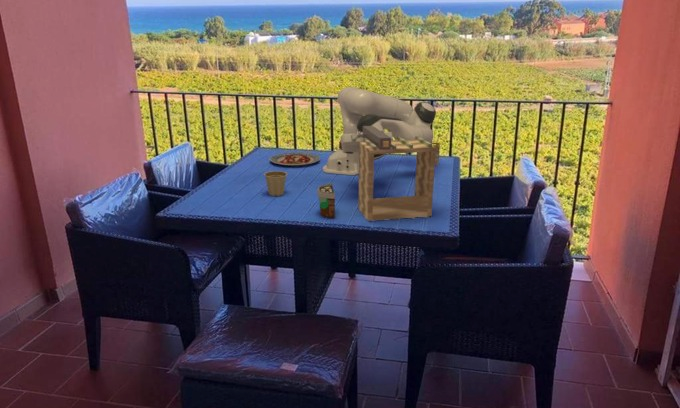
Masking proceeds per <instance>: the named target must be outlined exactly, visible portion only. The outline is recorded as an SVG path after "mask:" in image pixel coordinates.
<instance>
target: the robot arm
mask: <svg viewBox="0 0 680 408" xmlns="http://www.w3.org/2000/svg"><path fill="white" fill-rule="evenodd" d="M337 102H338V104H339V107H340V108H339V109H340V112H341V113H340V114H341V119H342V127H343V129H342V130H343V132H342V133H343V134H341V135H340V140H339V141H338V149H337V150H336V151H334V152H333V153H332V154H330V155H329V157H328V158H327V163H326V164H325V165H323V167H322V173H326V174H336V175H337V174H338V175H347V176H355V175H359V142H363V138H364V137H362V136H363V126H374V127H375V128H377V129H378V130H380V131H382V132H383V133H385V134H386V135H388V136H389V137H391V140H397V137H401V138H403V139H404V140H414V139H415V136H419V137H420V138H422V139H424V140H426V141H428V142H429V143H433V140H434V131H433V130H432V129H431V125H432V123H434V122H435V118H436V116H437V115H436V114H437V111H436V108H435V107H434V106H433V105H432V104H430V103H428V102H425V101H421V102H419V103H417V104H416V105H415V107H414V109H413V107H412V105H411V104H410V103H408V102H406V101H405V100H403V99H399V98H396V97H392V96H388V95H385V94H381V93H376V92H373V91H368V90H365V89H362V88H359V87H358V88H357V87H354V86H348V87H347V86H346V87H344V88H342V89H340V90H339V93H338V94H337ZM385 130H387V131H385ZM386 155H387V154H374V161H376V160H379V159H381V158H383V157H384V156H386Z"/></svg>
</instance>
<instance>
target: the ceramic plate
mask: <svg viewBox="0 0 680 408" xmlns="http://www.w3.org/2000/svg"><path fill="white" fill-rule="evenodd" d="M320 160H321V157H320V156H319V155H317V154H313V153H310V152H296V151H295V152H284V153H278V154H274V155H272V156H270V158H269V161H270V162H271V163H274V164H277V165H281V166H285V167H300V166H308V165H310V164H313V163H315V164H316V162H317V163H318V162H319V161H320Z"/></svg>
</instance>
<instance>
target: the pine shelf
mask: <svg viewBox="0 0 680 408" xmlns="http://www.w3.org/2000/svg"><path fill="white" fill-rule="evenodd" d="M431 143H432V142H431ZM431 143H429V142H428V141H426V140H424V139H422V138H420V137H419V136H415V139H414V140H404V139H403V138H401V137H397V140H395V139H393V140H391V149H387V150H379V149H378V148H377V146H375V145H374V144H373V143H372V142H370V141H369V140H368V139H366V138H363V142H359V174H358V204H357V205H358V207H357V208H358V211H359V212H360V211H361V212H362V213H361V212H360V213H361V215H362V216H363V215H364V216H365V217H364V216H363V217H364V219H365V220H366V219H367V220H368V221H372V220H384V219H385V221H387V220H386V219H398V220H402V219H401V218H412V219H416V218H415V217H425V218H430V217H429V216H431V217H432V213H433V200H434V197H433V195H434V182H435V171H436V170H435V168H436V167H435V166H436V165H435V154H436V147H435V146H433V145H434V144H431ZM412 153H416V160H415V161H416V163H415V179H414V180H415V182H414V184H415V185H414V195H408V196H396V197H395V196H394V197H382V198H381V197H378V198H377V197H376V198H374V174H375V173H374V171H375V170H374V169H375V168H374V167H375V166H374V165H375V163H374V162H375V160H374V154H386V155H390V154H412ZM399 218H400V219H399ZM367 220H366V221H367ZM368 221H367V222H368ZM372 222H373V221H372Z"/></svg>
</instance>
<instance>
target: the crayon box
mask: <svg viewBox="0 0 680 408" xmlns="http://www.w3.org/2000/svg"><path fill="white" fill-rule="evenodd" d="M431 144H432V145H433V146H435V147H436V154H435V166H439V163H440V149H441V147H440V146H441V142H431Z"/></svg>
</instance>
